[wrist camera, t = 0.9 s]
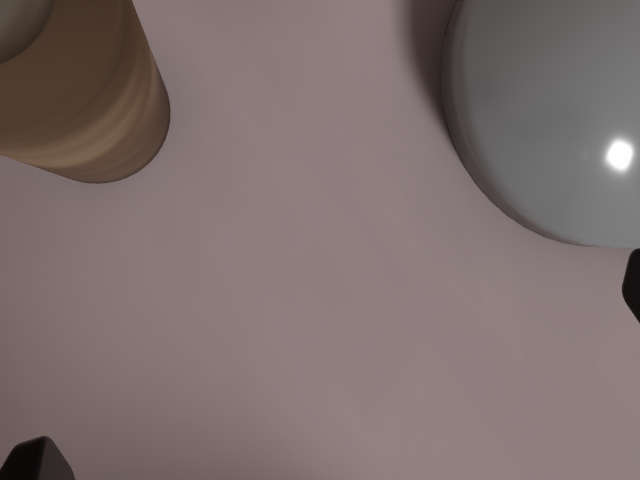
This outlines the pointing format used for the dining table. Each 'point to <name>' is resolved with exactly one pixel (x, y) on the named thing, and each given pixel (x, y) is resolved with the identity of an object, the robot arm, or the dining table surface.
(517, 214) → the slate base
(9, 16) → the pepper mill
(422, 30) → the dining table surface
